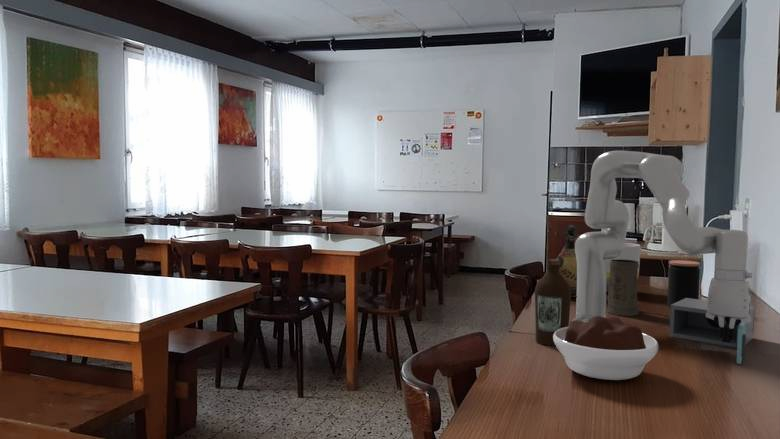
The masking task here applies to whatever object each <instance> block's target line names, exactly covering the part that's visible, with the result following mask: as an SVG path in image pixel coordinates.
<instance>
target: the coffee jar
mask: <svg viewBox="0 0 780 439" xmlns="http://www.w3.org/2000/svg"><path fill="white" fill-rule="evenodd" d="M668 263H669V265H670V266H669V267H668V282H667V283H668V284H667V306H668V307H669V308H670V305H672V304H674V303H676V302H678V301H680V300H682V299H685V298H691V299H699V300H700V278H701V277H700V276H701V275H700V274H701V273H700V272H701V270H700V265H701V263H700V262H699V261H695V260H694V261H692V260H684V259H683V260H679V259H678V260H677V259H676V260H669V261H668Z"/></svg>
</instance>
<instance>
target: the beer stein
mask: <svg viewBox="0 0 780 439" xmlns="http://www.w3.org/2000/svg"><path fill="white" fill-rule="evenodd" d="M638 268H639V269H640V266H639V265H638V261H634V260H621V259H618V260H611V261H610V276H609V288H608V292H607V293H608V294H607V304H608V305H607V308H606V313H609V314H610V315H614V316H620V315H621V316H623V317H633V316H638V315H639V309H638V307H639V303H638V280H637V273H638Z"/></svg>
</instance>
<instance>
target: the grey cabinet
mask: <svg viewBox="0 0 780 439" xmlns="http://www.w3.org/2000/svg"><path fill="white" fill-rule="evenodd" d="M669 309H670V310H669V333H668V334H669V335H668V336H669V337H670V338H671V337H672V338H675V339H676V338H678V339H684V340H689V341H695V342H701V343H707V344H712V345H717V346H718V345H719V346H724V347H730V348H735V349H737V343H738V328H739V325H740V324H739V325H737V326H736V327H734V332H733V340H730V342H729V343H727V342H722V338H720V329H721V327H720V326H719V325H718V323H717V322H716V321H715V320H712V319H710V318H707V317H706V313H707V300H704V299H700V298H699V299H691V298H685V299H682V300H680V301H678V302H676V303H674V304H672V305H670V307H669ZM749 316H750V322H749V323H746V345H747V344H748V343H749V342H751V341H753V339H754V328H755V306H754V305H753V306H752V305H751V306H750V315H749ZM730 319H731V317H725V322H726V324H727V327H728V325H729V324H730ZM737 319H738V318H737Z"/></svg>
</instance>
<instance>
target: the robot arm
mask: <svg viewBox="0 0 780 439" xmlns="http://www.w3.org/2000/svg"><path fill="white" fill-rule="evenodd" d="M683 173H684V167H683V164H682V161H681V160H680V159H678V158H677V157H676V156H673V155H668V154H667V155H665V154H657V153H652V152H651V153H650V152H643V151H635V150H634V151H631V150H611V151H606V152H604V153H602V154H600V155H598V156H597V157H596V158H595V159H594V161H593V164H592V167H591V171H590V183H589V190H588V194H587V200H586V206H585V211H584V223H585V224H586V226H588V227H589V228H592V229H596V230H600V229H601V231H590V232H589V231H588V232H584V233H583V234H581V235H578V236H577V238H576V240H575V242H574V244H575V254H576V260H577V297H576V298H575V299H576V304H575V305H576V308H575V317H574V318H573V319H571V320H570V321H574V320H579V321H582V322H588V321H589V320H590V319H591V318H592V317H594V316H602V317H605V318H607V317H606V316H607V293H608V292H607V271H606V267H605V264H604V261H603V260H605V259H613V258H616V257H618V256H619V255H620V254H621V252H622V250H623V248H624V243H626V238H627V233H628V232H627V231H628V227H629V224H630V223H629V221H630V212H629V210H628V206H626V204H625V203H624V202H623V201H620V200H618V199H616V196H617V191H618V188H617V187H618V186H617V182H616V178H625V179H629V178H630V179H642V180H643V182H644V183H645V184H646V186H647V187H648V189H649V190H650V192H651V193H652V194H653V196H654V197H655V199H656V200H657V202H658V204H659V206H660V207H661V209H662V213H661V214H662V220H663V224H664V227H665V229H666V232H667V233H668V235H669V237H670V238H671V240H672V241H673V242H674V244H675V246H677V247H678V249H680V250H681V252H683V253H685V254H688V255H690V256H696V255H705V254H706V255H708V254H714V269H713V270H714V272H713V273H714V275H713V277H712V278H711V280H710V283H709V286H708V287H709V288H708V293H707V313H706V317H707V318H710V319H712V320H715V321H716V322H717V323H718V325H719V326H720V327H721V329H720V338H722V342H727V343H729V342H730V340H733V332H734V327H736V326H737V325H739V324H741V323H742V324H743V323H749V322H750V316H749V315H750V306H752V305H751V304H752V302H751V287H750V281H748V280H747V279H752V278H753V273H752V272H748V271H747V262H748V261H747V259H748V243H749V236H748V233H747V232H746V231H744V230H739V229H721V228H718V227H713V226H698V227H696V226H695V224H694V223H693V221H692V220H691V218H690V217H689V216H688V214H687V211H686V207H685V204H686V202H687V201H688V200H689V198H690V196H691V193H690V191H689V189H688V188H687V187H686V185H685V184H684V182H683V181H682V180H681V178H682V176H683ZM725 317H731V319H730V324H729V325H728V327H727V324H726V322H725ZM737 318H738V319H737Z"/></svg>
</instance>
